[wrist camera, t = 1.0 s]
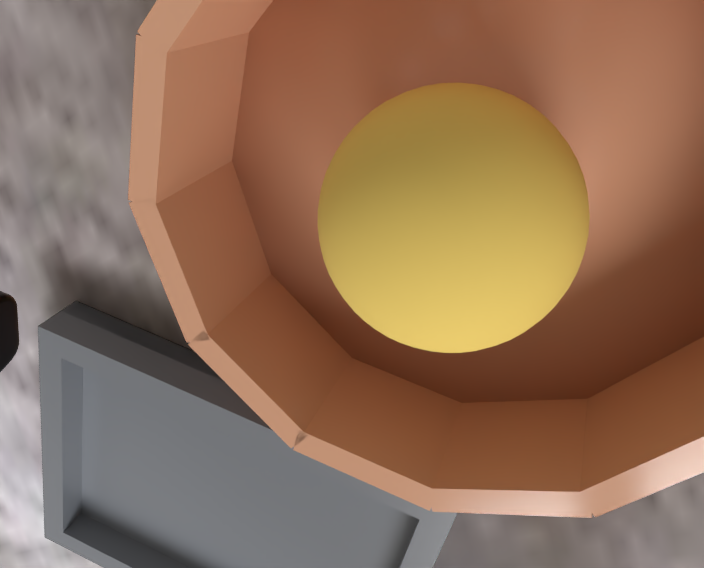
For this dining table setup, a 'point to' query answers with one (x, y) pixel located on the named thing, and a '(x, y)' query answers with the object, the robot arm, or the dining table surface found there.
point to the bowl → (363, 340)
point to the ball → (453, 217)
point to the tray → (194, 467)
